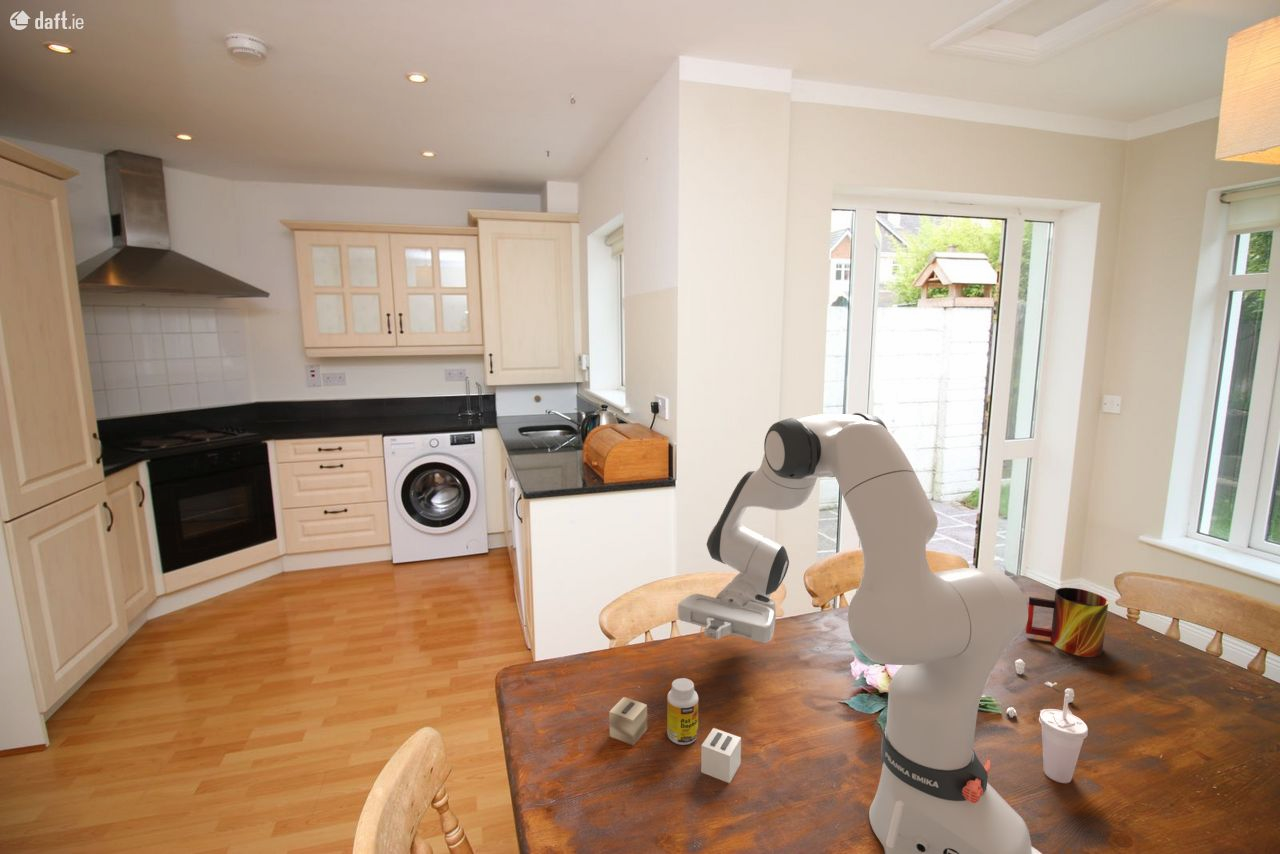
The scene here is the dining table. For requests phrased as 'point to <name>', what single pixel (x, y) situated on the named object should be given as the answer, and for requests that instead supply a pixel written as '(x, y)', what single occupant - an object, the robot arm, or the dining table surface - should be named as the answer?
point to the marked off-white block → (721, 755)
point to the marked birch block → (628, 720)
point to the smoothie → (1061, 742)
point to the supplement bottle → (682, 712)
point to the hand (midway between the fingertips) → (711, 634)
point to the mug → (1073, 621)
